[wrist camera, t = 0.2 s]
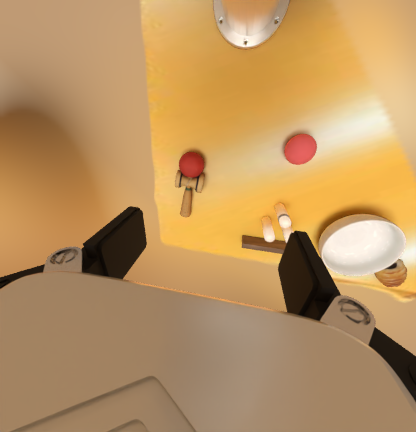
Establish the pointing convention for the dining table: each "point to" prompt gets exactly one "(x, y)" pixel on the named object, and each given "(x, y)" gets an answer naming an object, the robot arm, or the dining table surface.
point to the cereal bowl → (361, 244)
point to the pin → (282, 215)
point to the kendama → (189, 178)
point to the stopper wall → (263, 244)
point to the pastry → (392, 274)
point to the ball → (300, 149)
